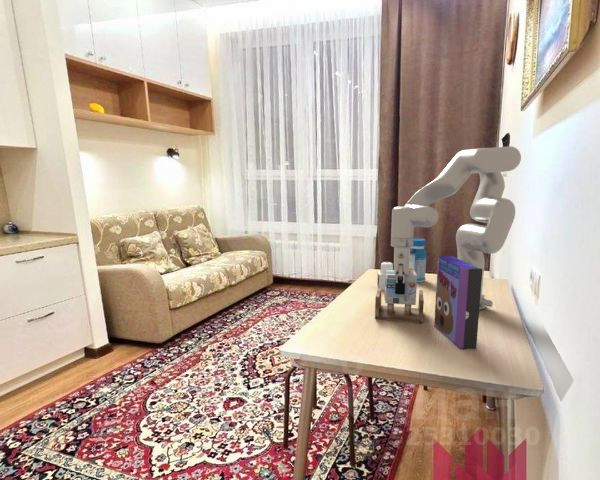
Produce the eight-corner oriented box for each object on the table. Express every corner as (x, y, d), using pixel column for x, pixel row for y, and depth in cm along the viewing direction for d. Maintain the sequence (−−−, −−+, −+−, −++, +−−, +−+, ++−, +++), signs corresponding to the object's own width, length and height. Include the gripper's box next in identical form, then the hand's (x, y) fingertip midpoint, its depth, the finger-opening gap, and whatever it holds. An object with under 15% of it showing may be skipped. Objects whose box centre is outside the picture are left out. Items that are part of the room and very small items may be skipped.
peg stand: (422, 323, 129) (423, 300, 128) (374, 318, 133) (375, 297, 132) (421, 311, 140) (422, 290, 139) (377, 307, 145) (378, 287, 143)
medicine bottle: (377, 285, 174) (378, 259, 172) (393, 286, 173) (394, 260, 171) (378, 290, 167) (379, 263, 165) (394, 290, 166) (395, 264, 164)
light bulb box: (385, 303, 134) (386, 274, 132) (383, 297, 140) (384, 269, 138) (416, 305, 132) (418, 275, 130) (413, 298, 139) (415, 270, 137)
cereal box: (434, 326, 127) (438, 255, 123) (447, 325, 127) (452, 255, 123) (460, 349, 110) (466, 268, 106) (476, 348, 110) (482, 268, 106)
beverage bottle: (422, 283, 176) (425, 241, 173) (404, 281, 180) (406, 239, 177) (427, 279, 183) (429, 238, 180) (409, 277, 188) (411, 237, 184)
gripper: (413, 247, 123) (411, 299, 126) (413, 238, 140) (411, 284, 143) (389, 246, 125) (388, 297, 128) (392, 237, 142) (390, 283, 145)
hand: (400, 290), depth 135 cm, fingers open, 7 cm apart
